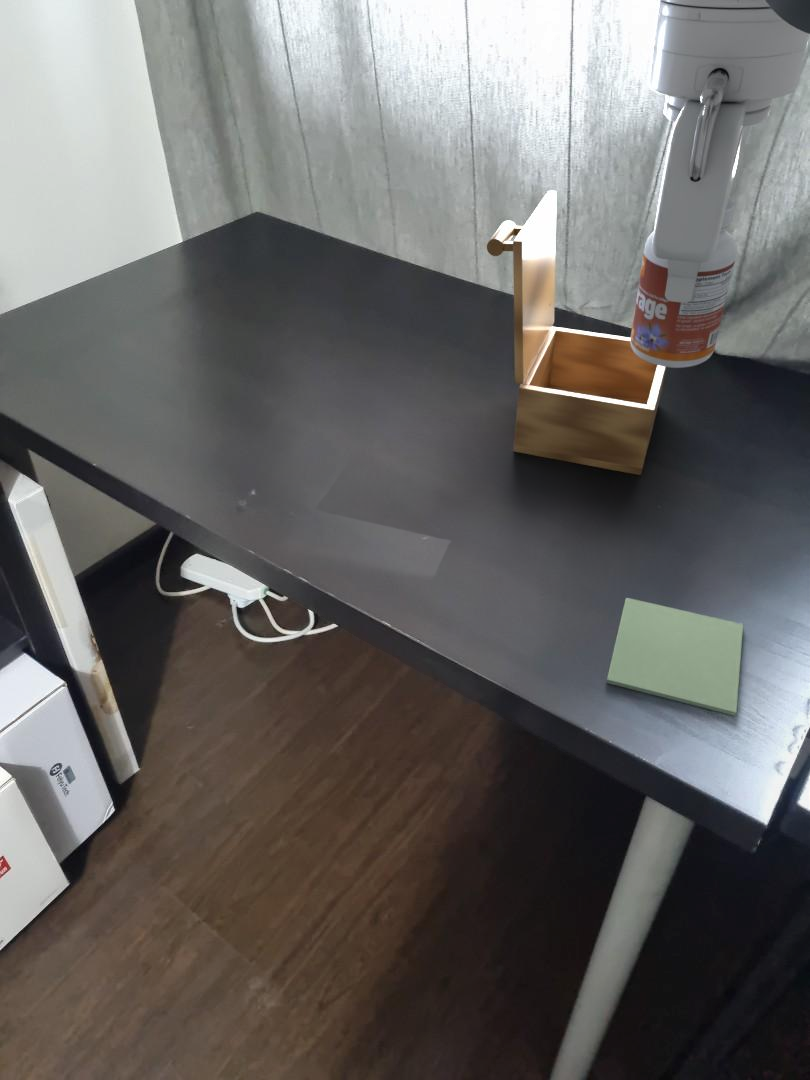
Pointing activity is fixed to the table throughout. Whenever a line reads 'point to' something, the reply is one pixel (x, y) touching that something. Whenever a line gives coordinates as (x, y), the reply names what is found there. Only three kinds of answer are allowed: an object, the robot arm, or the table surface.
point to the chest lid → (531, 279)
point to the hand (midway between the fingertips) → (685, 276)
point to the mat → (678, 656)
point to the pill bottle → (682, 306)
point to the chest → (588, 401)
